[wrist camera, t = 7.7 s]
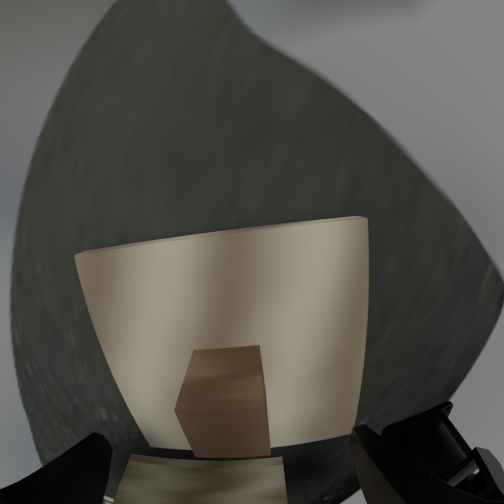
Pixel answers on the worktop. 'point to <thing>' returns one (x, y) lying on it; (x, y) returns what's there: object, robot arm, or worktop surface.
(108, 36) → the worktop surface
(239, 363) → the lid
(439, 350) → the worktop surface
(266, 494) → the box
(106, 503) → the coffee can
